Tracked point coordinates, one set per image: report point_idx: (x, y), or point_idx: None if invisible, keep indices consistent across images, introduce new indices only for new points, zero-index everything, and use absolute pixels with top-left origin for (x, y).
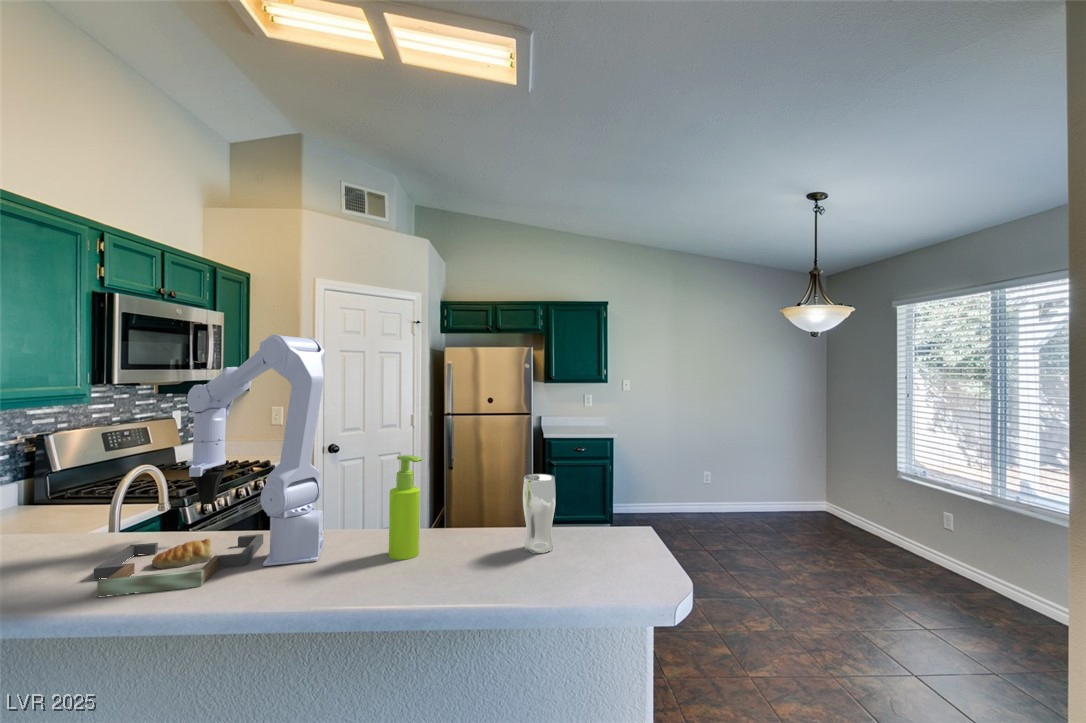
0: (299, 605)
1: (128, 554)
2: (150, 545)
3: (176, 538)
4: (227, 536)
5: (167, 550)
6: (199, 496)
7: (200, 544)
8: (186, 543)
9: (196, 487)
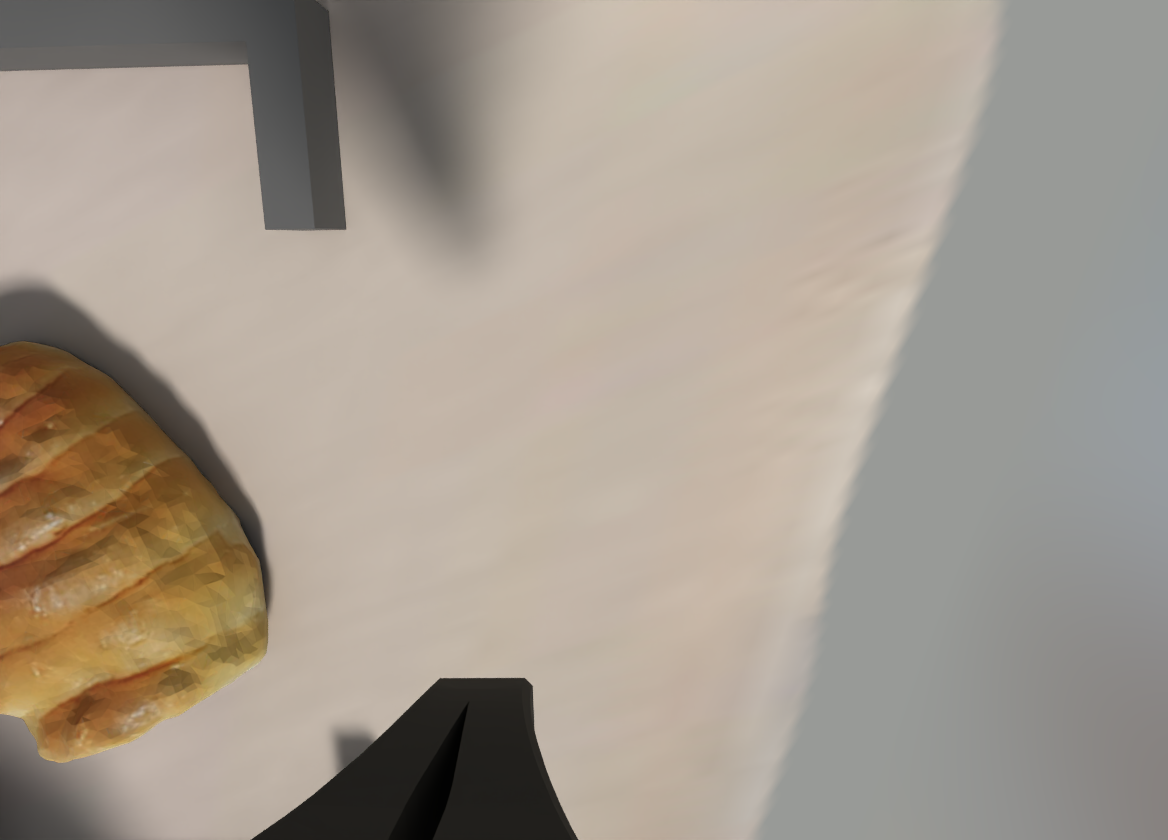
0: None
1: (165, 54)
2: (266, 186)
3: (734, 218)
4: (662, 643)
5: (28, 438)
6: (381, 739)
7: (19, 701)
8: (23, 594)
9: (255, 838)
